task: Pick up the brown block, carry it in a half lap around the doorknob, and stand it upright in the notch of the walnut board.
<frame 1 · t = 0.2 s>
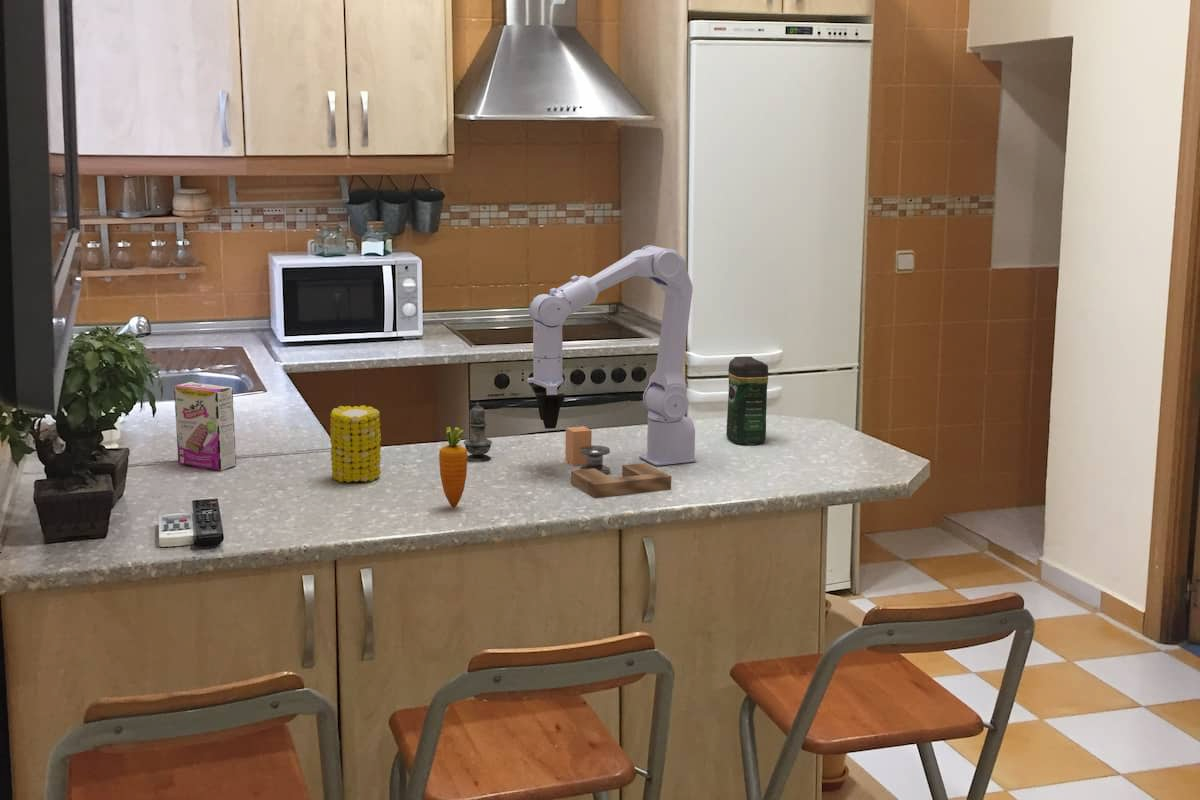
hand: (548, 423, 260), 10 cm above the worktop, fingers open, 7 cm apart
candy bar box: (207, 467, 263), on the worktop
carrot: (453, 508, 236), on the worktop
brown block: (578, 462, 269), on the worktop
doorknob: (594, 471, 262), on the worktop
coffee jar: (745, 441, 290), on the worktop
notched board: (620, 486, 251), on the worktop
food: (356, 479, 255), on the worktop
salt shaker: (478, 459, 271), on the worktop
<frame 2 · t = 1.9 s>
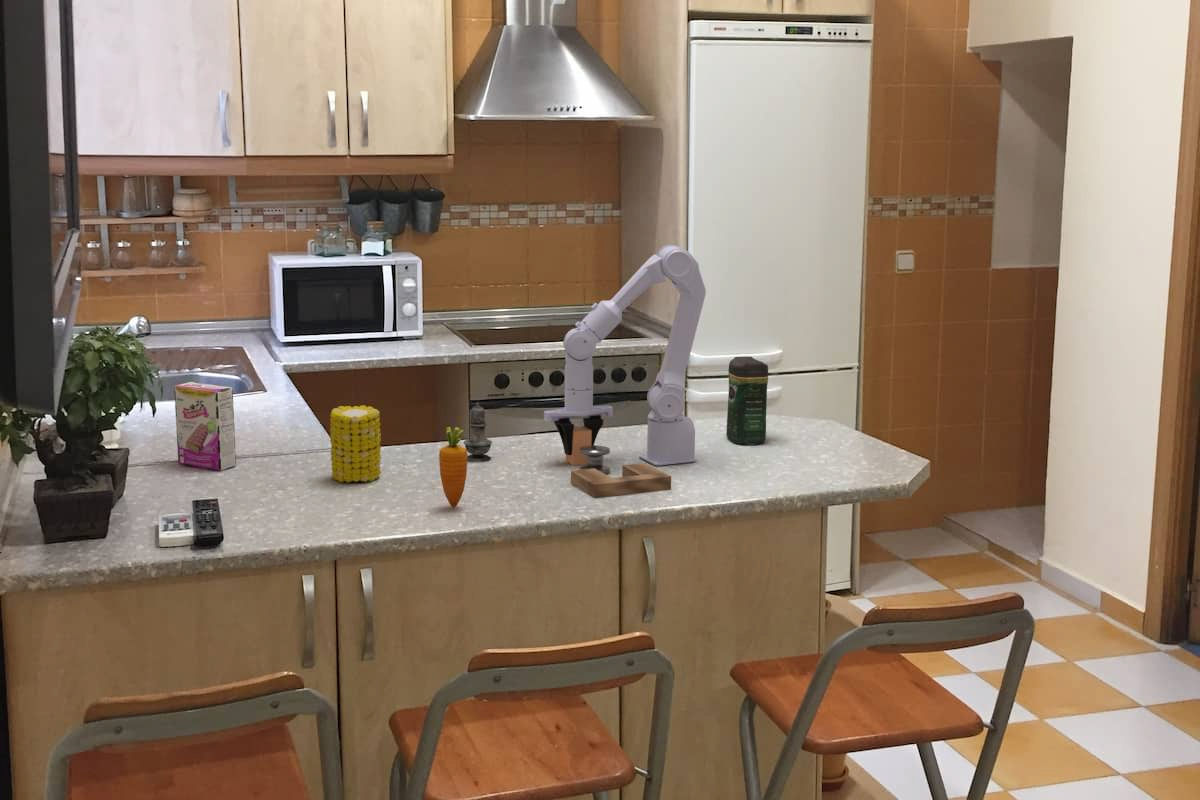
hand: (578, 453, 269), 2 cm above the worktop, fingers closed on brown block, 4 cm apart
brown block: (578, 462, 269), on the worktop, touching gripper
everything else where it was.
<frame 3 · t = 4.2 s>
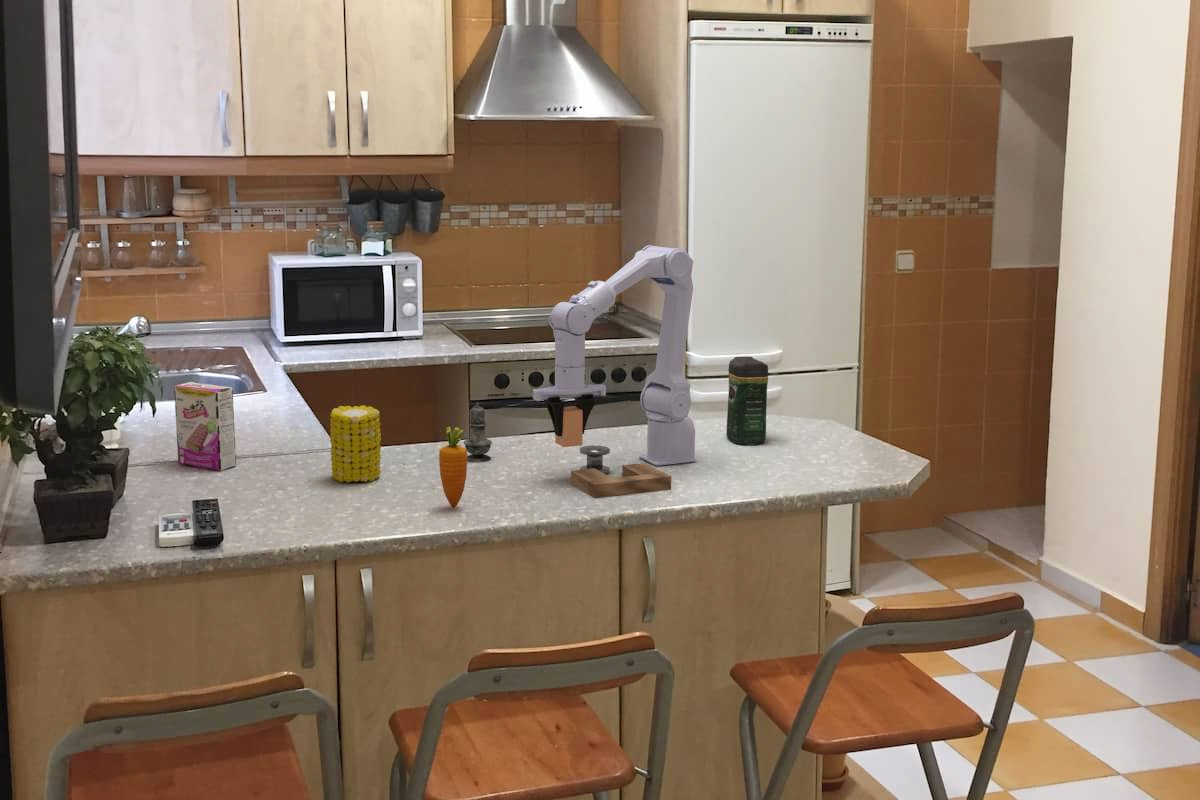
hand: (569, 434, 254), 9 cm above the worktop, fingers closed on brown block, 4 cm apart
brown block: (568, 444, 255), point 7 cm above the worktop, touching gripper
everything else where it was.
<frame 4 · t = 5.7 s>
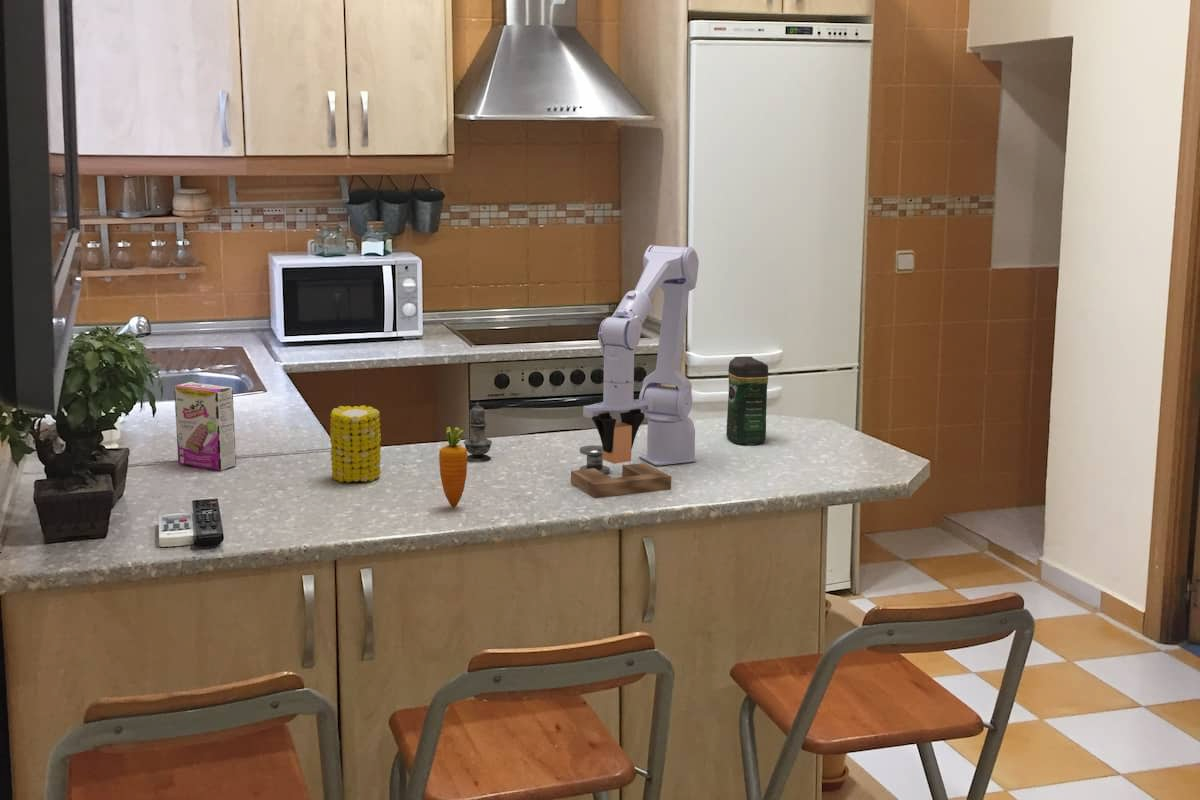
hand: (617, 450, 251), 7 cm above the worktop, fingers closed on brown block, 4 cm apart
brown block: (616, 460, 252), point 5 cm above the worktop, touching gripper
everything else where it was.
when the fingers open (4 cm above the worktop, at t = 6.6 s): brown block drops 2 cm, resting in notched board.
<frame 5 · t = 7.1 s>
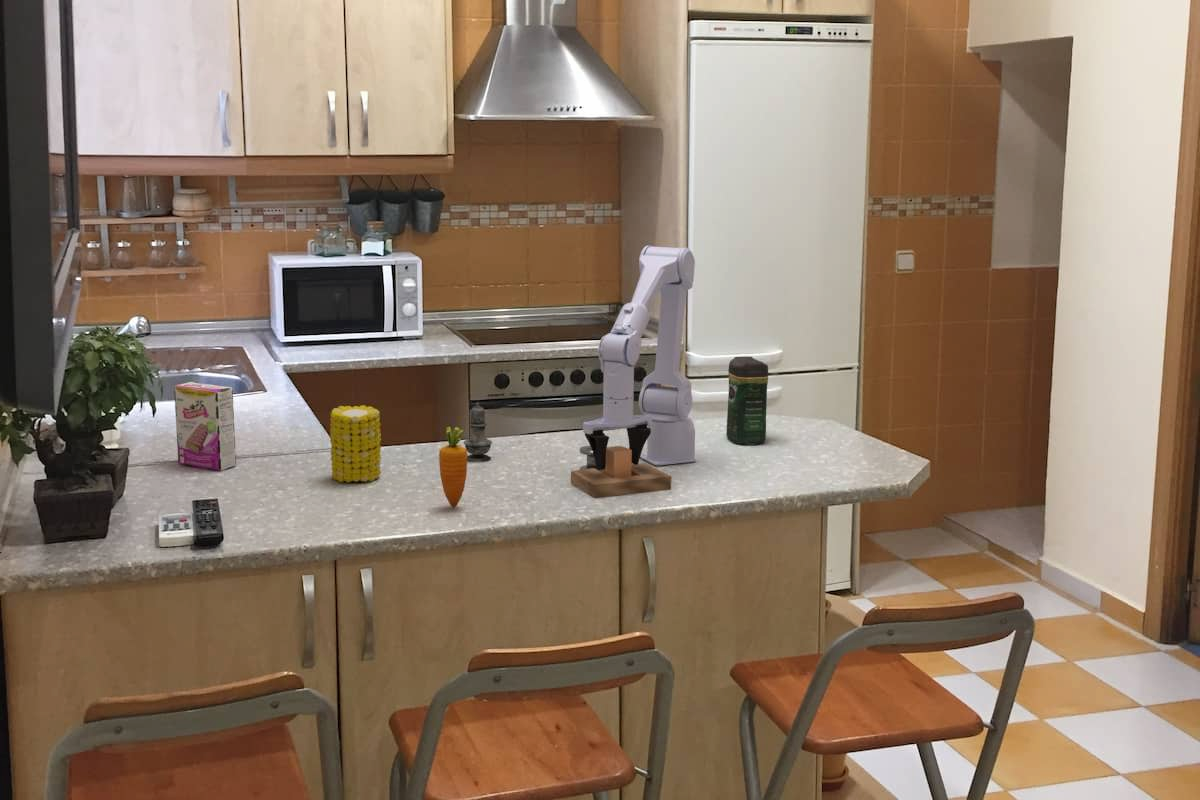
hand: (617, 466, 252), 4 cm above the worktop, fingers open, 7 cm apart
brown block: (616, 484, 253), resting in notched board
everything else where it was.
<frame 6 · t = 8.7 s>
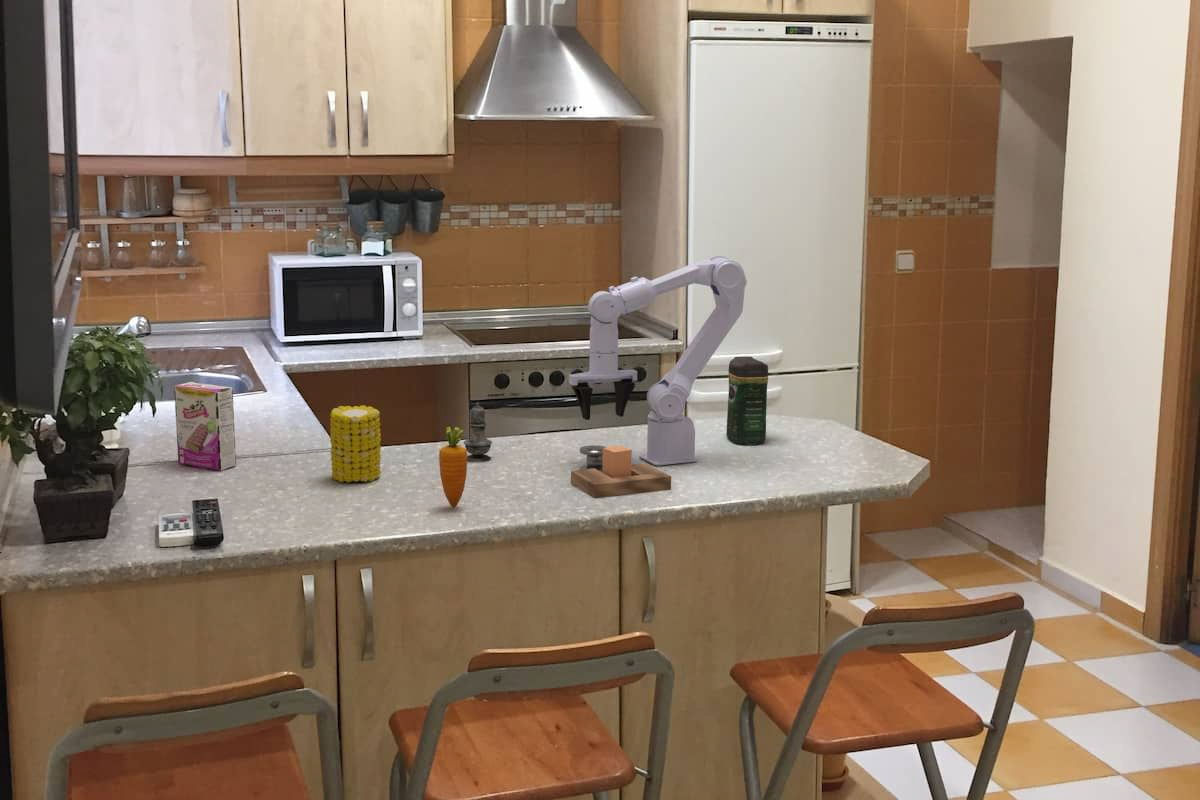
hand: (602, 417, 268), 9 cm above the worktop, fingers open, 7 cm apart
nothing on the worktop moved.
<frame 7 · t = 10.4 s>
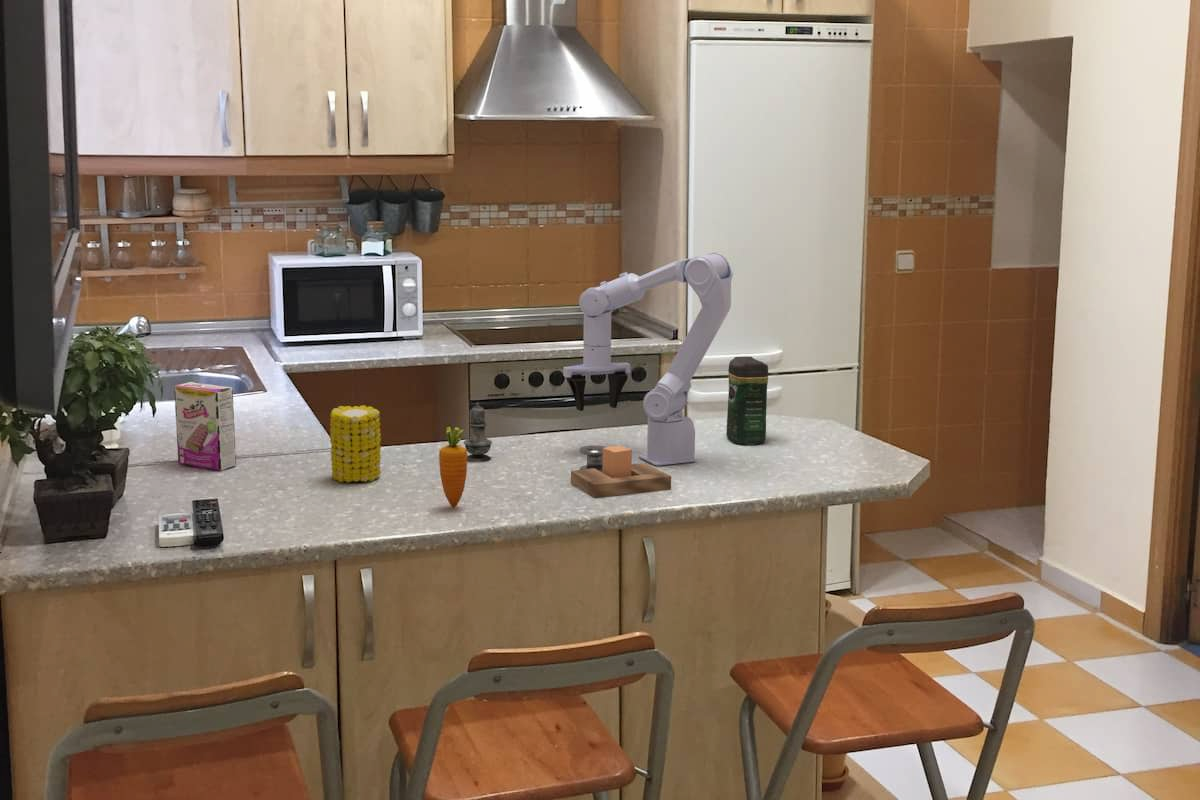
hand: (596, 408, 276), 9 cm above the worktop, fingers open, 7 cm apart
nothing on the worktop moved.
at the end: brown block 0.2 cm from the target spot on the notched board, point 0.0 cm above the notched board's base; brown block tilted 0°; the gripper is holding nothing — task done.
